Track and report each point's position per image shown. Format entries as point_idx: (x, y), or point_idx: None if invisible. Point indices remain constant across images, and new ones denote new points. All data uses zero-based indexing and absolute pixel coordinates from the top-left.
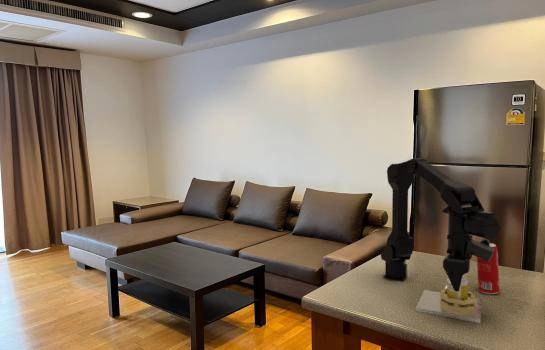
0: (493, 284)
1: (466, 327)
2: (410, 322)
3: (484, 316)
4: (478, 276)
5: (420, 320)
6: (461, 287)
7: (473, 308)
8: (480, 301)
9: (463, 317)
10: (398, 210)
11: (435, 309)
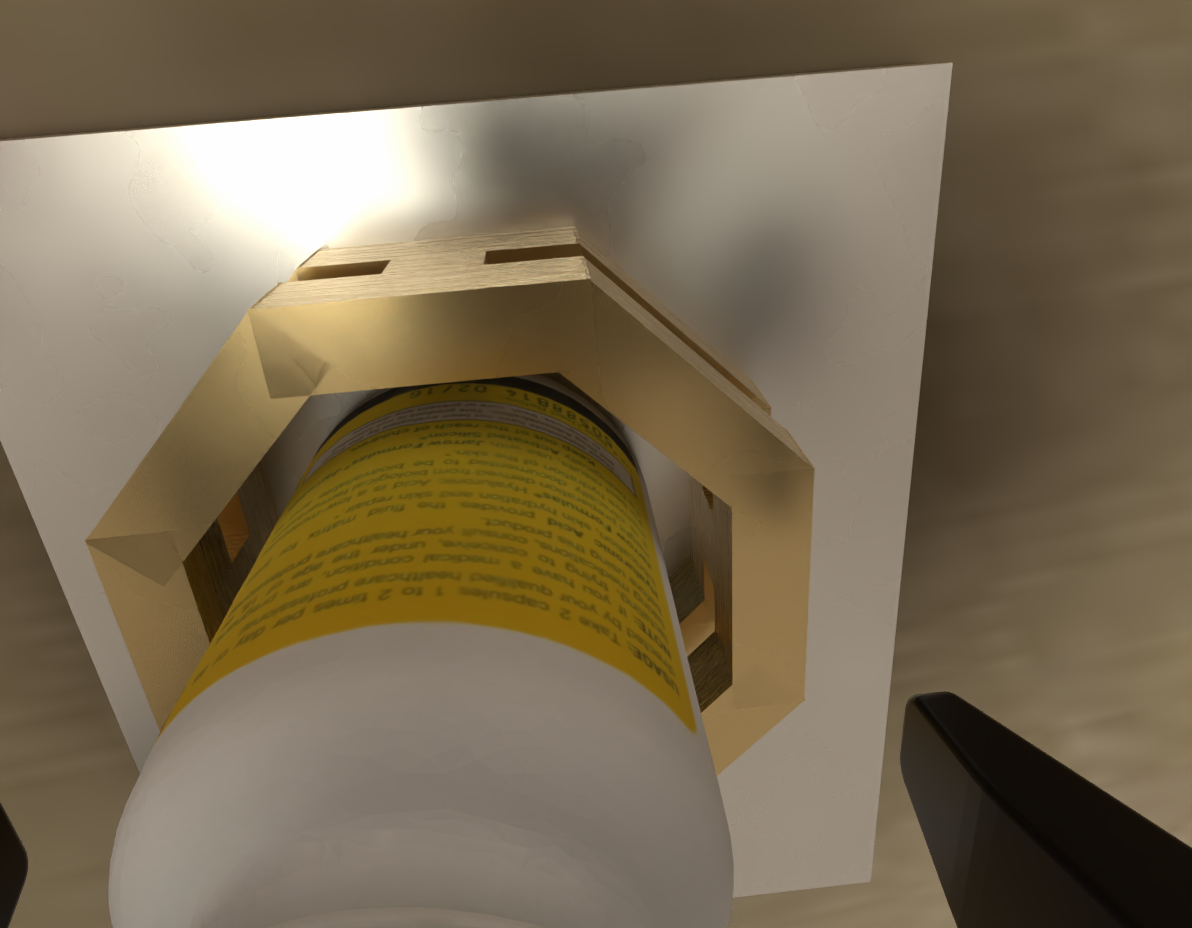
0: None
1: (1140, 247)
2: (1176, 805)
3: (583, 26)
4: None
5: (1094, 746)
6: (681, 695)
7: (592, 246)
8: (35, 175)
9: (917, 341)
10: None
11: (830, 709)
